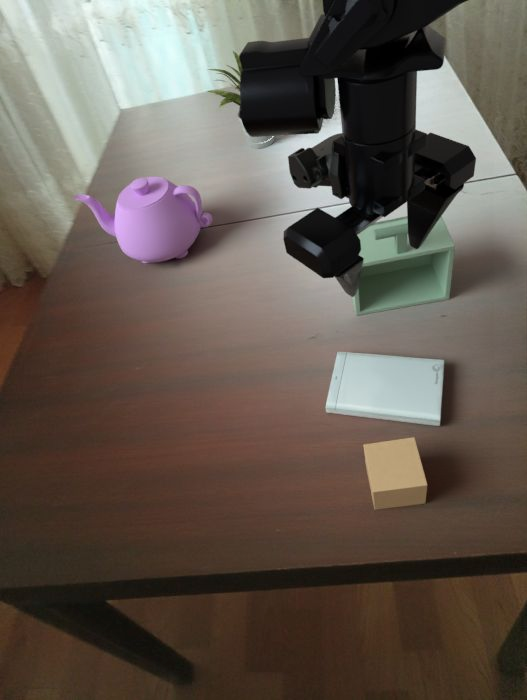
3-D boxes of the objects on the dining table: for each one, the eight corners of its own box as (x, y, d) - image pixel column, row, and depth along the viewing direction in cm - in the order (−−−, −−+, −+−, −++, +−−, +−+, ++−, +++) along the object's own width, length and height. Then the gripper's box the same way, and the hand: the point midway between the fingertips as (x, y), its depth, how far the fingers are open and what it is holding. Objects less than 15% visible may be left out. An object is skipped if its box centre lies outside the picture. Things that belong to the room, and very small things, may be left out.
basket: (339, 205, 61) (349, 241, 56) (440, 184, 59) (458, 220, 55) (347, 279, 70) (356, 315, 66) (434, 263, 69) (449, 299, 64)
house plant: (257, 115, 106) (238, 31, 94) (311, 123, 99) (298, 33, 87) (216, 151, 100) (190, 66, 88) (270, 162, 93) (251, 72, 81)
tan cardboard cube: (413, 457, 52) (414, 436, 49) (425, 503, 49) (427, 485, 46) (365, 464, 53) (363, 444, 49) (374, 510, 50) (372, 492, 46)
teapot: (98, 281, 82) (59, 222, 73) (116, 227, 91) (84, 168, 81) (214, 265, 78) (190, 200, 69) (222, 210, 87) (201, 146, 78)
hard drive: (445, 358, 57) (337, 349, 61) (440, 420, 52) (324, 406, 56) (443, 367, 58) (338, 357, 62) (439, 428, 54) (326, 413, 58)
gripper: (387, 56, 47) (390, 197, 59) (229, 150, 42) (266, 282, 54) (490, 82, 40) (469, 235, 52) (314, 197, 35) (336, 337, 47)
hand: (383, 270), depth 51 cm, fingers open, 9 cm apart
